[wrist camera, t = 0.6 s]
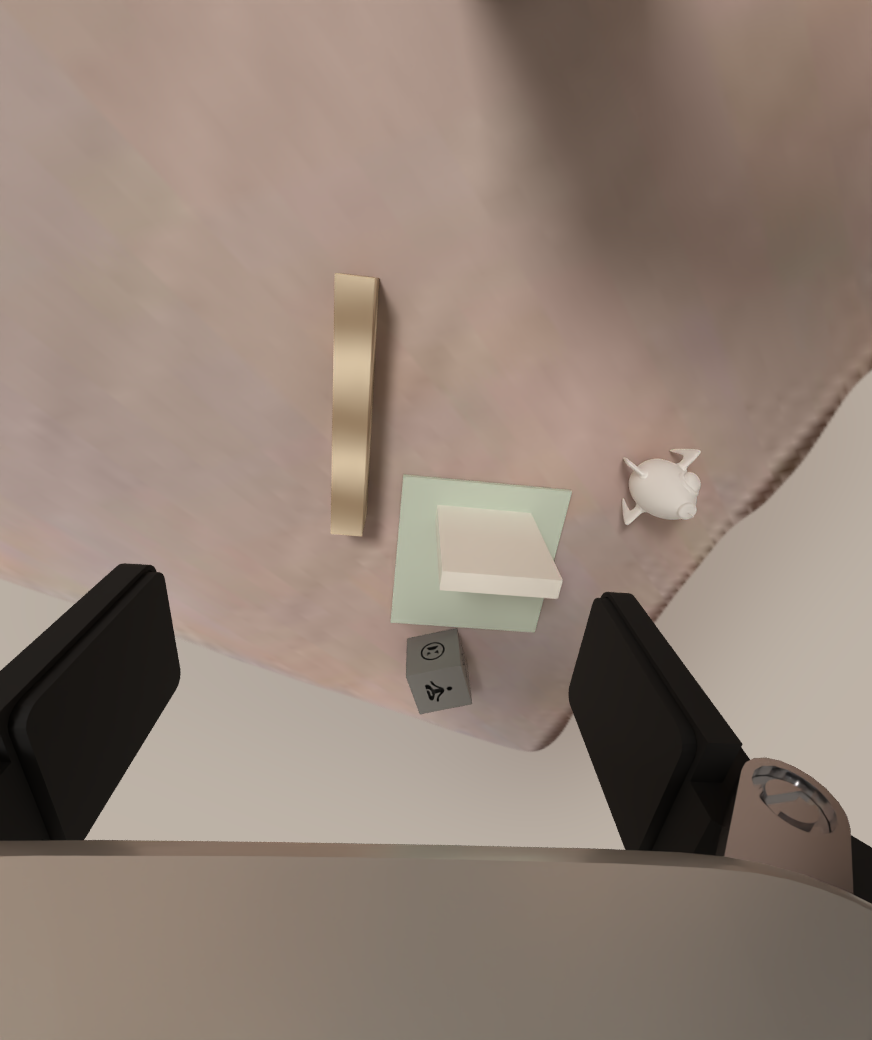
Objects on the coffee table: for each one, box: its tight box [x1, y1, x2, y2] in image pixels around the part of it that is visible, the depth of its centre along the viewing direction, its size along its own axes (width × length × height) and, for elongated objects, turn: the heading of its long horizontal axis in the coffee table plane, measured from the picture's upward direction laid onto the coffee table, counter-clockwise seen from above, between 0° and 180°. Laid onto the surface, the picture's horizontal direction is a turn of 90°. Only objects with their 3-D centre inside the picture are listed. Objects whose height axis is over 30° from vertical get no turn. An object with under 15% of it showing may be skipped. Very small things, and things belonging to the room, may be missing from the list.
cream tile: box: [435, 505, 563, 599], centre depth 36 cm, size 2×8×10 cm, turn 83°
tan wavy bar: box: [331, 273, 379, 536], centre depth 34 cm, size 18×2×4 cm, turn 173°
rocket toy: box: [622, 449, 701, 525], centre depth 36 cm, size 5×5×8 cm
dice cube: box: [406, 628, 472, 714], centre depth 45 cm, size 5×5×5 cm
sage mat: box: [391, 474, 572, 632], centre depth 42 cm, size 15×14×1 cm
